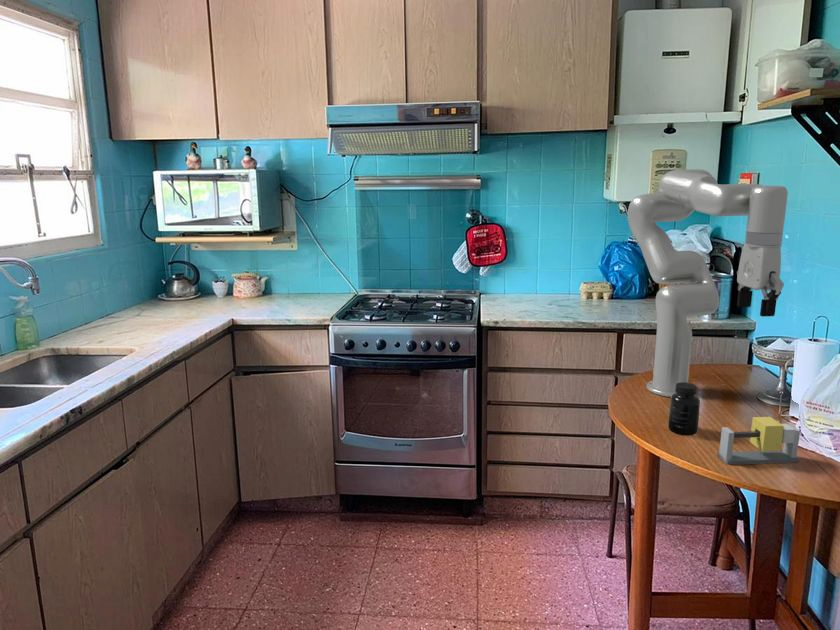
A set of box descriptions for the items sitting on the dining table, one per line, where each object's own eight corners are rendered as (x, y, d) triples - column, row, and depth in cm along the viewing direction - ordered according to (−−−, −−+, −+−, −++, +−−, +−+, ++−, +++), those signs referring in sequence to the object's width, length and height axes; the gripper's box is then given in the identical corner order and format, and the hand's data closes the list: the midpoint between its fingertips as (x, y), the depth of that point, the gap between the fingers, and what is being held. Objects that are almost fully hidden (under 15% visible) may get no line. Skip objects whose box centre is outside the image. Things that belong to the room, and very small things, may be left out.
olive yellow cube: (749, 441, 140) (752, 417, 139) (766, 441, 140) (770, 416, 139) (762, 451, 135) (765, 426, 134) (780, 451, 135) (783, 425, 134)
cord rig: (717, 455, 140) (720, 424, 138) (785, 453, 141) (790, 422, 139) (727, 464, 136) (730, 432, 134) (798, 462, 137) (802, 430, 135)
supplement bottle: (672, 422, 158) (676, 378, 156) (700, 429, 154) (705, 384, 151) (663, 431, 153) (667, 386, 150) (692, 438, 149) (697, 392, 146)
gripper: (728, 236, 151) (721, 303, 155) (769, 244, 135) (760, 320, 139) (757, 235, 152) (750, 303, 156) (803, 243, 135) (793, 319, 139)
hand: (755, 311), depth 147 cm, fingers open, 9 cm apart
